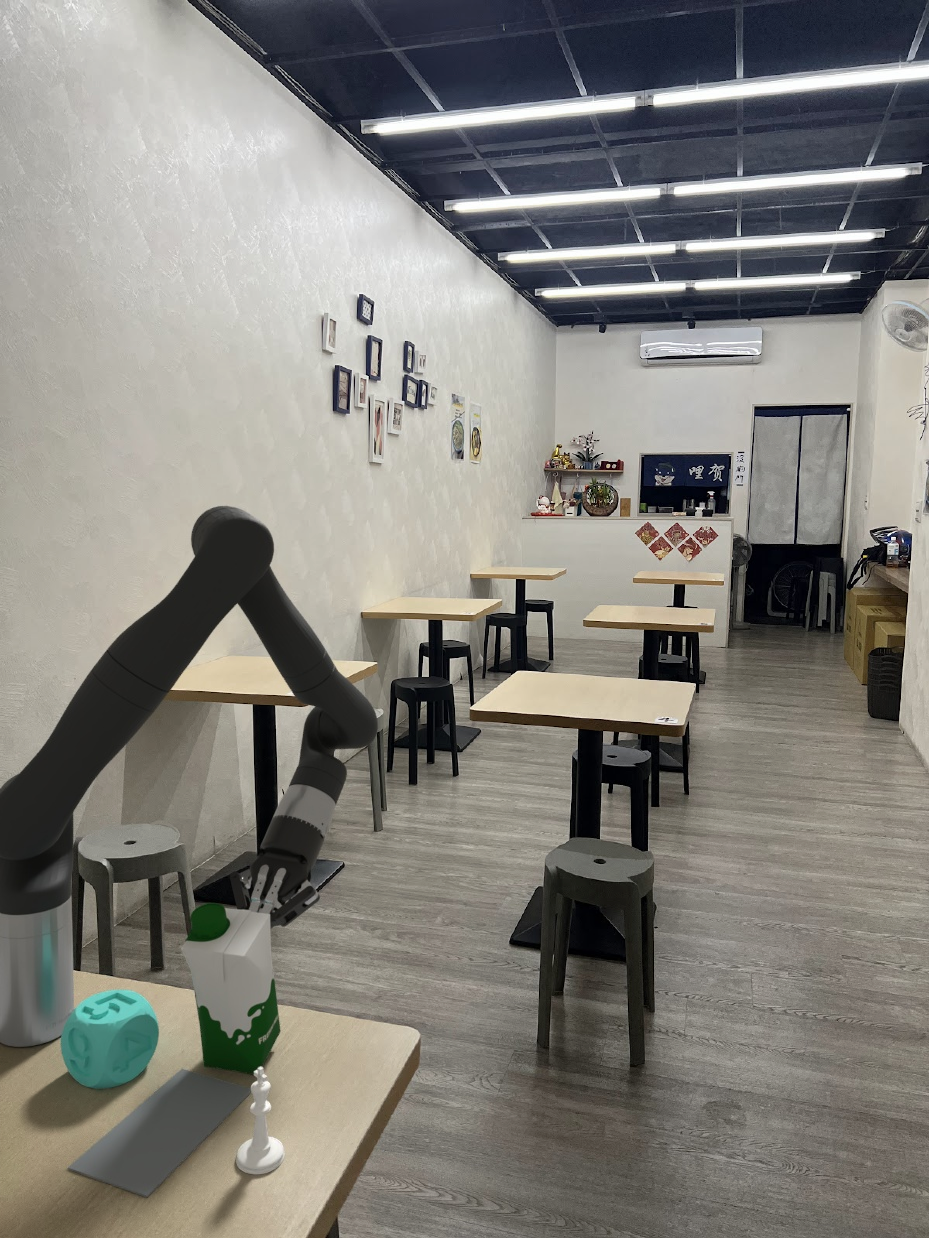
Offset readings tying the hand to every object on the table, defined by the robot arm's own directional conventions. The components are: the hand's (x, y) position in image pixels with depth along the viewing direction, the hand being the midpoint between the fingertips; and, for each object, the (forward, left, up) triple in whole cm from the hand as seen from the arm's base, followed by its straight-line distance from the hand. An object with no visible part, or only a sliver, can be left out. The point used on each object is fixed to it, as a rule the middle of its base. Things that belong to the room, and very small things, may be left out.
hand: (246, 953), depth 111 cm
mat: (0, -15, -13) cm, 20 cm away
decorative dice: (-13, -9, -13) cm, 21 cm away
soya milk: (0, -1, -12) cm, 12 cm away
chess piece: (+12, -15, -13) cm, 23 cm away
